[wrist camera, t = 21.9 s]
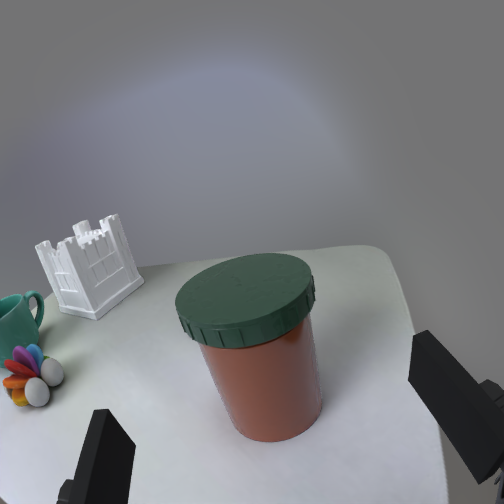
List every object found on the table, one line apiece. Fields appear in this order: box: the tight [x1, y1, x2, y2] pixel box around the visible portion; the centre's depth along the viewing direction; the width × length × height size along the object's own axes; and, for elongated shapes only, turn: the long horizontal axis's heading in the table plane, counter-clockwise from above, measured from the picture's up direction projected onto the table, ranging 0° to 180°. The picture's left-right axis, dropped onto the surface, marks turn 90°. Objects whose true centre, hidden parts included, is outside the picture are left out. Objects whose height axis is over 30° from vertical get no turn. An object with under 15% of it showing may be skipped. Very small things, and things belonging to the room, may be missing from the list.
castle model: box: [35, 214, 145, 320], centre depth 58 cm, size 14×14×15 cm
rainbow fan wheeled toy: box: [3, 344, 64, 407], centre depth 33 cm, size 8×10×7 cm
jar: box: [198, 313, 322, 442], centre depth 25 cm, size 9×9×13 cm
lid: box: [175, 253, 315, 348], centre depth 23 cm, size 10×10×2 cm
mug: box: [0, 291, 44, 368], centre depth 43 cm, size 17×13×10 cm
